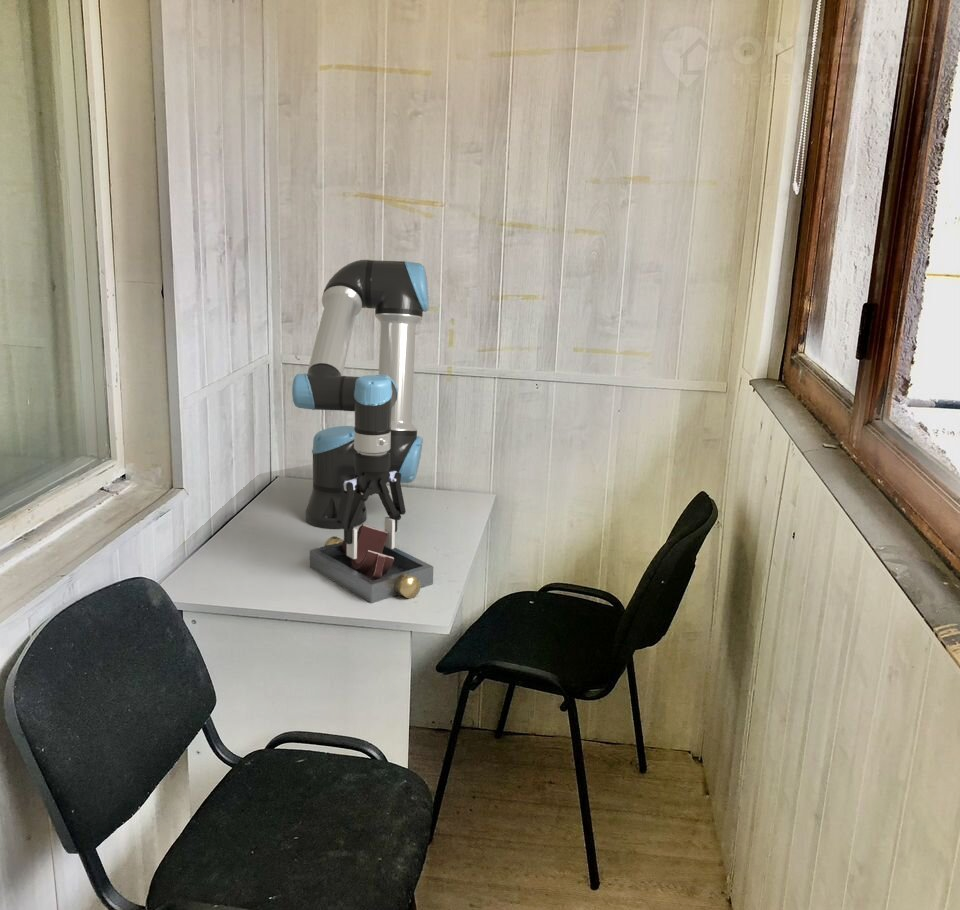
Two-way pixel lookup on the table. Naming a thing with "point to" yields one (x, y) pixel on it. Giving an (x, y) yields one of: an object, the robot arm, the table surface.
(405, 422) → the robot arm
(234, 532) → the table surface
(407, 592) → the cradle
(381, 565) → the bracket
